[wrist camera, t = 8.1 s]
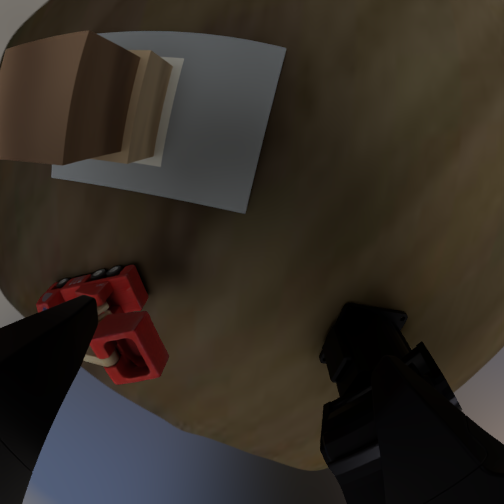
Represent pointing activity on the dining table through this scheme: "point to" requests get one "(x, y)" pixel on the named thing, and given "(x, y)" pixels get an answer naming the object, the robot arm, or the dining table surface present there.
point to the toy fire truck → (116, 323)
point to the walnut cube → (65, 98)
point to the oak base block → (143, 109)
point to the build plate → (198, 120)
